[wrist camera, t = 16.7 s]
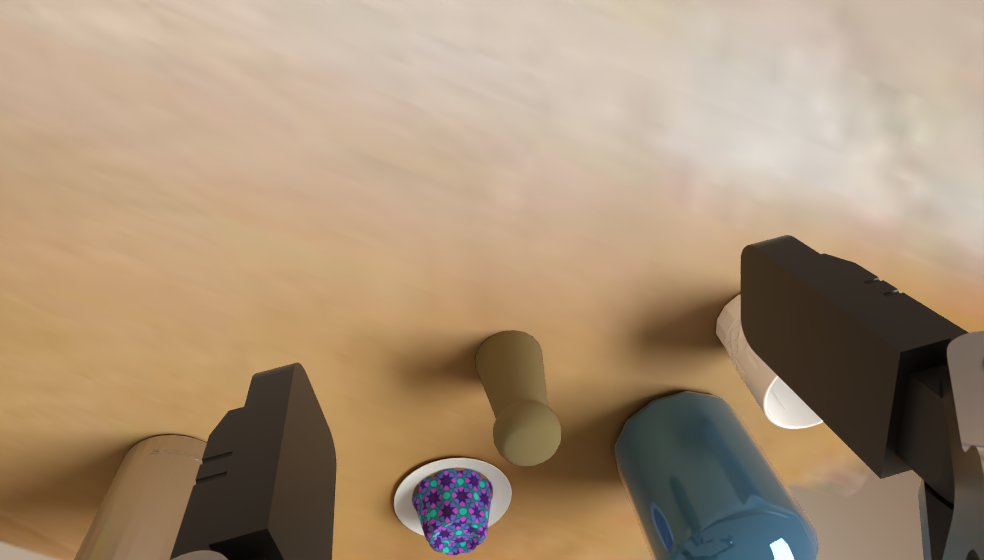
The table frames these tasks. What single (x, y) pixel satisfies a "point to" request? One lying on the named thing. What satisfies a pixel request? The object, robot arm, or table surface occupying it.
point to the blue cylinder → (707, 485)
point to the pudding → (453, 503)
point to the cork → (518, 398)
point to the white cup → (761, 374)
